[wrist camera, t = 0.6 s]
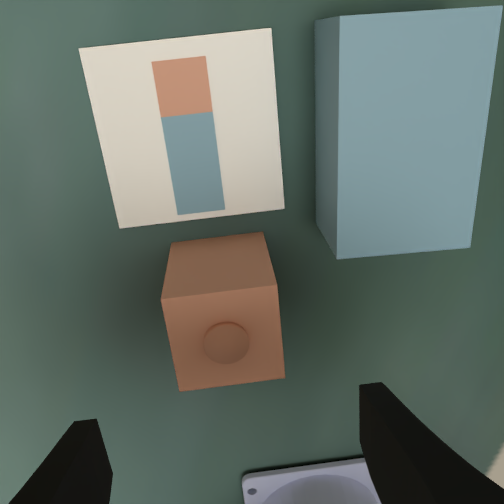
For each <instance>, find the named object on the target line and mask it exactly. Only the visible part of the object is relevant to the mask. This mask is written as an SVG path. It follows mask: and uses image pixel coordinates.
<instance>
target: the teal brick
mask: <svg viewBox="0 0 504 504" xmlns="http://www.w3.org/2000/svg"><path fill="white" fill-rule="evenodd" d="M502 8H503V5H502V6H487V7H471V8H456V9H440V10H425V11H410V12H394V13H379V14H363V15H348V16H337V17H331V18H326V19H320V20H315V165H316V224H317V226H318V228H319V229H320V231H321V233H322V235H323V236H324V238H325V240H326V242H327V243H328V245H329V247H330V249H331V250H332V252H333V254H334V256H335V257H336V259H347V258H358V257H370V256H381V255H392V254H403V253H414V252H425V251H437V250H448V249H459V248H470V244H471V237H472V230H473V222H474V215H475V207H476V200H477V193H478V185H479V178H480V171H481V163H482V156H483V148H484V141H485V134H486V126H487V119H488V112H489V104H490V97H491V89H492V82H493V75H494V67H495V60H496V52H497V45H498V38H499V30H500V23H501V16H502Z"/></svg>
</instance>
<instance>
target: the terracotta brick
mask: <svg viewBox="0 0 504 504" xmlns="http://www.w3.org/2000/svg"><path fill="white" fill-rule="evenodd" d="M161 303H162V308H163V313H164V318H165V323H166V328H167V333H168V338H169V342H170V347H171V352H172V357H173V362H174V367H175V372H176V377H177V382H178V387H179V392H182V391H190V390H197V389H205V388H212V387H220V386H228V385H235V384H243V383H250V382H258V381H266V380H273V379H281V378H285V368H284V357H283V345H282V334H281V322H280V311H279V299H278V288H277V282H276V278H275V275H274V271H273V267H272V264H271V260H270V256H269V252H268V249H267V245H266V241H265V238H264V234H263V232H255V233H247V234H238V235H230V236H222V237H214V238H205V239H197V240H189V241H181V242H172V243H171V247H170V253H169V258H168V263H167V269H166V274H165V279H164V285H163V290H162V295H161Z"/></svg>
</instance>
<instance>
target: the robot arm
mask: <svg viewBox="0 0 504 504" xmlns="http://www.w3.org/2000/svg"><path fill="white" fill-rule="evenodd" d="M359 408H360V444H361V447H362V451H363V454H364V458H359V459H351V460H344V461H337V462H329V463H322V464H315V465H307V466H300V467H293V468H285V469H278V470H271V471H263V472H256V473H249V474H246V475H245V476H244V477H243V478H242V488H243V495H244V502H245V504H504V489H503V488H502V487H500V486H499V485H497V484H496V483H495V482H493V481H492V480H490V479H489V478H488V477H486V476H485V475H484V474H482V473H481V472H480V471H478V470H477V469H476V468H474V467H473V466H472V465H471V464H469V463H468V462H467V461H466V460H464V459H463V458H462V457H461V456H459V455H458V454H457V453H456V452H455V451H453V450H452V449H451V448H450V447H449V446H448V445H446V444H445V443H444V442H443V441H442V440H441V439H440V438H438V437H437V436H436V435H435V434H434V433H433V432H432V431H431V430H430V429H429V428H428V427H426V426H425V425H424V424H423V423H422V422H421V421H420V420H419V419H418V418H417V417H416V416H415V415H414V414H413V413H412V412H411V411H410V410H409V409H408V408H407V407H406V406H405V405H404V404H403V403H402V402H401V401H400V400H399V399H398V398H397V397H396V396H395V395H394V394H393V393H392V392H391V391H390V390H389V389H388V388H387V387H386V386H385V385H384V384H383V383H382V382H378V383H370V384H362V385H359ZM112 477H113V472H112V469H111V465H110V462H109V459H108V455H107V452H106V449H105V445H104V442H103V438H102V435H101V432H100V428H99V425H98V421H97V419H90V420H82V421H74V422H73V424H72V425H71V426H70V427H69V428H68V430H67V431H66V432H65V434H64V435H63V436H62V437H61V439H60V440H59V441H58V443H57V444H56V445H55V447H54V448H53V449H52V451H51V452H50V453H49V454H48V456H47V457H46V458H45V460H44V461H43V462H42V463H41V465H40V466H39V467H38V468H37V470H36V471H35V472H34V473H33V475H32V476H31V477H30V478H29V480H28V481H27V482H26V483H25V485H24V486H23V487H22V488H21V490H20V491H19V492H18V493H17V494H16V496H15V497H14V498H13V499H12V500H11V501H10V502H9V504H109V501H110V494H111V485H112ZM251 488H253V489H251Z"/></svg>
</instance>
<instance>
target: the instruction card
mask: <svg viewBox="0 0 504 504" xmlns="http://www.w3.org/2000/svg"><path fill="white" fill-rule="evenodd" d="M79 53H80V57H81V61H82V66H83V70H84V75H85V79H86V83H87V88H88V92H89V96H90V101H91V105H92V110H93V114H94V118H95V123H96V127H97V132H98V136H99V140H100V145H101V149H102V154H103V158H104V162H105V167H106V171H107V175H108V180H109V184H110V189H111V193H112V197H113V202H114V206H115V211H116V215H117V219H118V224H119V228H128V227H136V226H145V225H153V224H161V223H170V222H178V221H187V220H195V219H203V218H212V217H220V216H228V215H237V214H245V213H253V212H262V211H270V210H278V209H285V207H284V194H283V180H282V167H281V153H280V140H279V126H278V113H277V99H276V86H275V72H274V59H273V46H272V32H271V28H264V29H255V30H246V31H237V32H227V33H218V34H209V35H199V36H190V37H181V38H172V39H162V40H153V41H144V42H135V43H125V44H116V45H107V46H97V47H88V48H79Z"/></svg>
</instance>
